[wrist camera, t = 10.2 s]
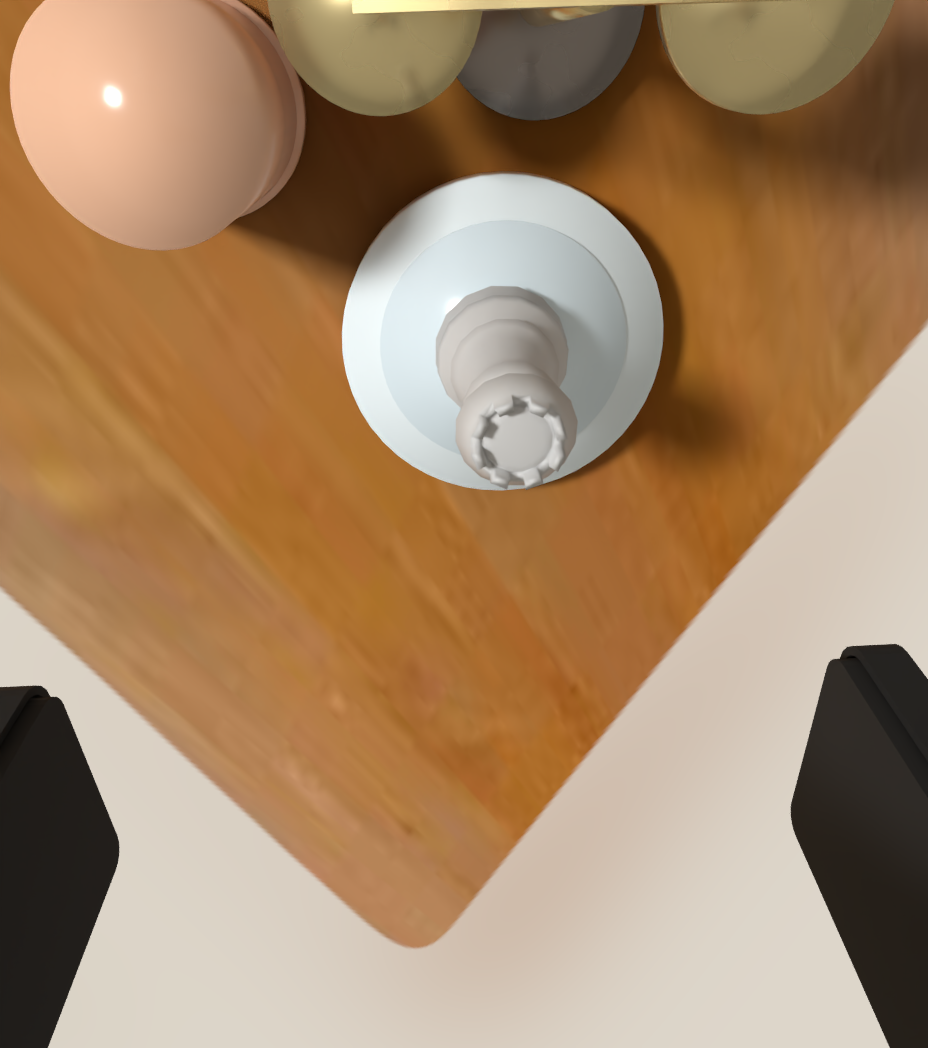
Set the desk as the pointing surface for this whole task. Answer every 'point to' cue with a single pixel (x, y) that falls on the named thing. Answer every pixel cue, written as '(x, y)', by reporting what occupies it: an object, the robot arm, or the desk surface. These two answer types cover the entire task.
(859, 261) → the desk surface
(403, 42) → the balance
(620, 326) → the dish
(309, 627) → the desk surface
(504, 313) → the rook chess piece
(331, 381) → the desk surface
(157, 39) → the peach dome knob
